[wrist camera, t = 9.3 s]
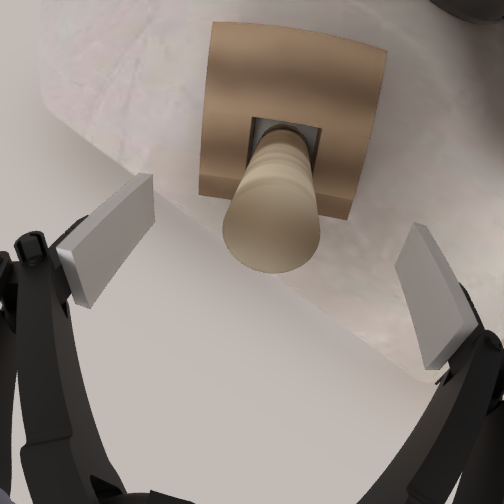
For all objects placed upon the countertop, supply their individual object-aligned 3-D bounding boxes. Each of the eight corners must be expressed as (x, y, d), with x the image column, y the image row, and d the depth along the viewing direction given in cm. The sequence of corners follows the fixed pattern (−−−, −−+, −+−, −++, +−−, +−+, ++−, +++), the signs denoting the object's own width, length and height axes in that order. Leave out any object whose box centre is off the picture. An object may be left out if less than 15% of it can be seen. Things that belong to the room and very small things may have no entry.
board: (221, 26, 20) (212, 21, 18) (377, 52, 20) (387, 50, 17) (207, 183, 29) (198, 194, 27) (342, 206, 29) (346, 220, 26)
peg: (262, 120, 25) (225, 180, 12) (311, 128, 25) (332, 198, 12) (256, 164, 28) (218, 265, 15) (302, 172, 27) (308, 280, 14)
